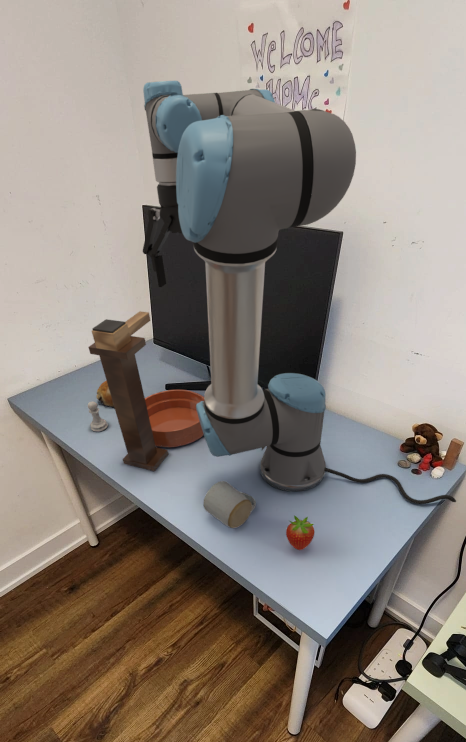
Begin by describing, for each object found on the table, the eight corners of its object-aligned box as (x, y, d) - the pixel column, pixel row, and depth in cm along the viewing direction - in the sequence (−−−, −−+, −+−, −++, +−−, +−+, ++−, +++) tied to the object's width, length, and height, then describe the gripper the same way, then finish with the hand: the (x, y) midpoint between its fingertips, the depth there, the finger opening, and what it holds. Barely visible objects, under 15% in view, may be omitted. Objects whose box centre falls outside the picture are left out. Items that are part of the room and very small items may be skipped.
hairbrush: (155, 321, 92) (152, 302, 89) (117, 351, 82) (112, 331, 80) (136, 318, 94) (132, 300, 91) (96, 348, 84) (90, 328, 81)
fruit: (291, 560, 82) (293, 533, 77) (281, 540, 86) (283, 513, 80) (316, 552, 83) (320, 526, 78) (306, 534, 87) (309, 507, 81)
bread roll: (125, 417, 127) (131, 396, 122) (91, 406, 124) (95, 383, 119) (132, 400, 134) (137, 379, 129) (99, 388, 131) (104, 366, 126)
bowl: (222, 413, 120) (220, 396, 116) (190, 455, 107) (187, 438, 103) (160, 401, 126) (157, 384, 122) (123, 440, 113) (118, 423, 109)
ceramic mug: (230, 536, 87) (229, 511, 82) (204, 517, 91) (200, 491, 86) (264, 510, 92) (265, 484, 87) (238, 492, 97) (237, 466, 91)
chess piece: (87, 430, 117) (78, 405, 112) (97, 421, 120) (88, 396, 115) (102, 433, 116) (93, 408, 110) (111, 423, 119) (103, 398, 113)
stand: (168, 454, 108) (144, 337, 86) (154, 471, 103) (126, 352, 82) (138, 447, 111) (108, 332, 89) (123, 463, 106) (88, 347, 85)
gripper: (234, 179, 89) (238, 286, 104) (133, 178, 97) (150, 278, 112) (220, 185, 84) (226, 297, 99) (115, 185, 92) (135, 288, 107)
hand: (186, 287), depth 105 cm, fingers open, 13 cm apart
